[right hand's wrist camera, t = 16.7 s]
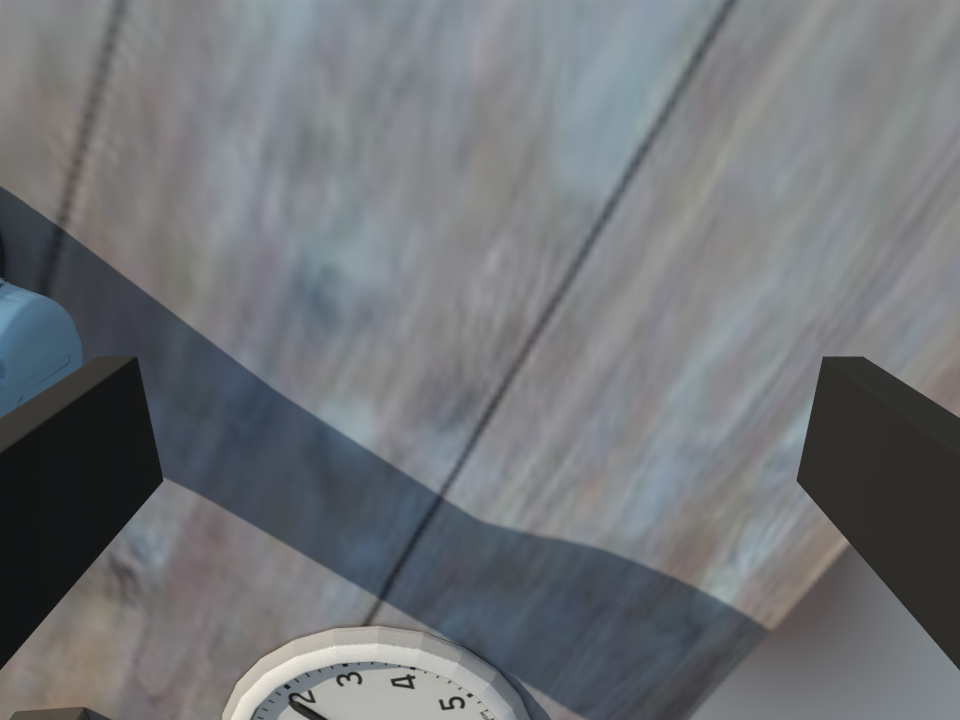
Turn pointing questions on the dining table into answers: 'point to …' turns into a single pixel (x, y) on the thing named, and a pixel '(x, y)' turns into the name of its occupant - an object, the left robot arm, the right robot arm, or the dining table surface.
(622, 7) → the dining table surface
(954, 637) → the right robot arm
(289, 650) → the wall clock
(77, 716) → the box
